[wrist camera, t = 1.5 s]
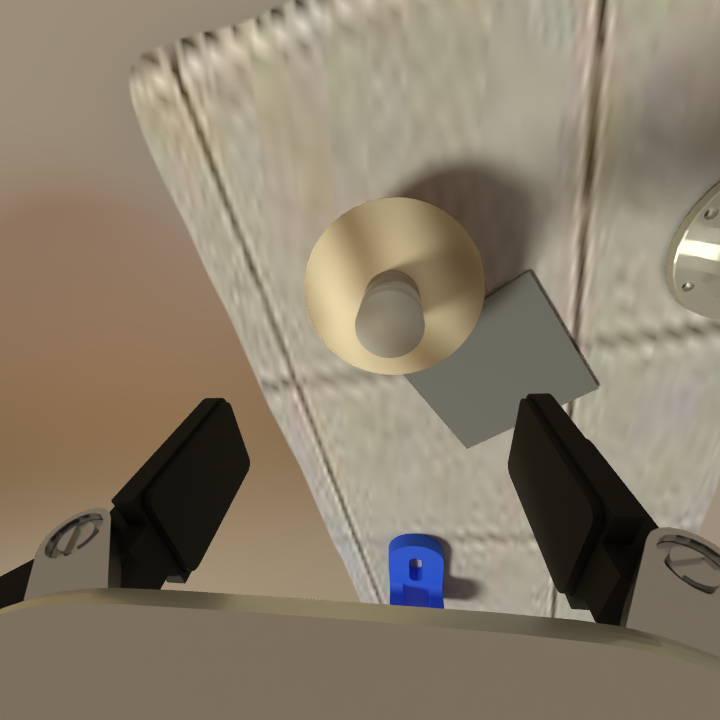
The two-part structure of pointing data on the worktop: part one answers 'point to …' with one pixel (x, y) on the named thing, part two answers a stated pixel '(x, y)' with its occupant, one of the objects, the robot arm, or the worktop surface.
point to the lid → (394, 286)
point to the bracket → (416, 571)
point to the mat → (504, 365)
